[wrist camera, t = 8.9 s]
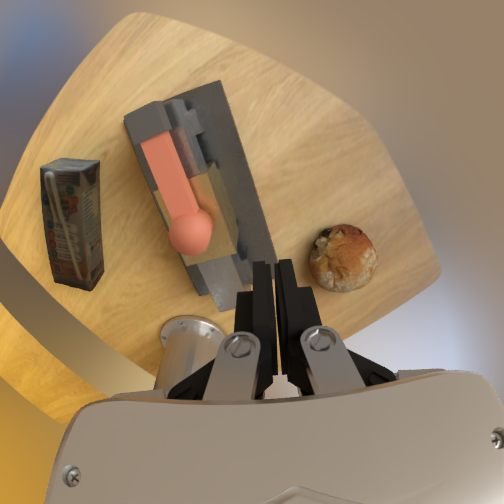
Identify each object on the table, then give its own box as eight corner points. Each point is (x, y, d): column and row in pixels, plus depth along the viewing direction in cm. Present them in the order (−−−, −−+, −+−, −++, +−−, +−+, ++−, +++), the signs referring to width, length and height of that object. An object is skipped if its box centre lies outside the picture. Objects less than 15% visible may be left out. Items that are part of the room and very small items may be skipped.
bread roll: (311, 268, 46) (325, 311, 41) (296, 233, 38) (313, 283, 33) (366, 247, 44) (384, 288, 39) (363, 207, 36) (388, 254, 31)
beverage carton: (104, 158, 33) (79, 170, 27) (107, 272, 42) (91, 296, 37) (61, 155, 32) (34, 167, 27) (70, 263, 42) (52, 285, 36)
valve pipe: (281, 272, 42) (286, 310, 34) (200, 292, 44) (191, 330, 36) (220, 80, 29) (210, 72, 21) (126, 119, 30) (93, 125, 23)
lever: (218, 236, 29) (215, 249, 27) (184, 246, 30) (178, 260, 27) (165, 99, 22) (156, 99, 20) (129, 116, 23) (117, 118, 20)
